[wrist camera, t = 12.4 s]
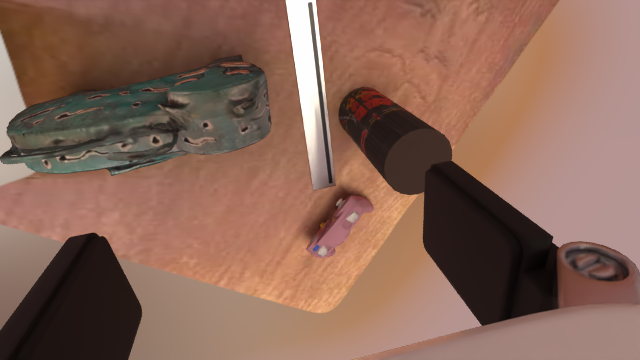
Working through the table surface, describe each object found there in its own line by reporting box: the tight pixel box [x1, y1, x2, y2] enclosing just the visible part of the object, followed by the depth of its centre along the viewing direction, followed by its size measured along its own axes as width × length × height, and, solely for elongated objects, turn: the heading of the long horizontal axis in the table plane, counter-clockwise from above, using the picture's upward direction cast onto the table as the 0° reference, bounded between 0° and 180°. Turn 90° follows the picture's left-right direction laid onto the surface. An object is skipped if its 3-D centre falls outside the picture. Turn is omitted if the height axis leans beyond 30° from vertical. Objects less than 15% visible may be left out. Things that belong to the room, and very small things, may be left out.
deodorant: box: [339, 88, 452, 195], centre depth 35 cm, size 6×6×15 cm
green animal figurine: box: [0, 55, 271, 176], centre depth 27 cm, size 20×6×20 cm, turn 99°
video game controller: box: [306, 195, 374, 258], centre depth 45 cm, size 10×5×7 cm, turn 142°
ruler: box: [286, 0, 336, 190], centre depth 40 cm, size 22×3×1 cm, turn 7°
